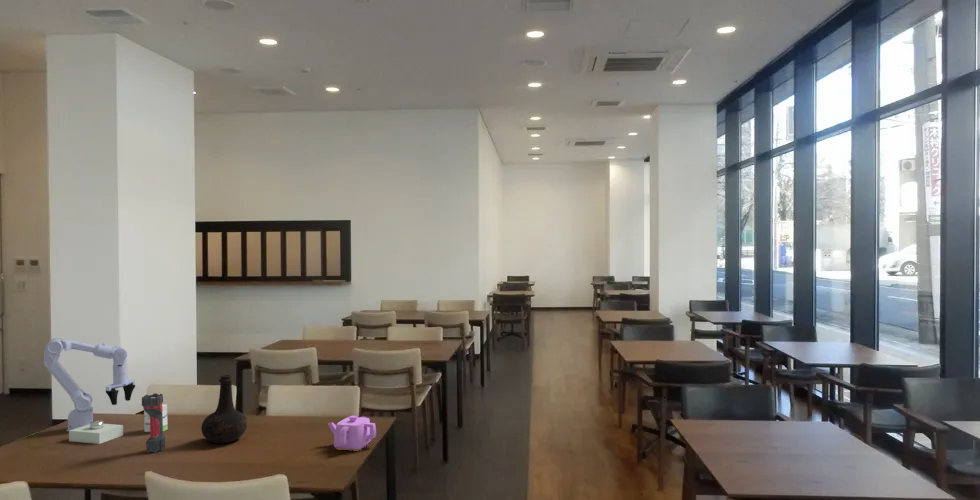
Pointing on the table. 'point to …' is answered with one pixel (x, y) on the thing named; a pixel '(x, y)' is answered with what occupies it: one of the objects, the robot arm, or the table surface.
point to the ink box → (147, 419)
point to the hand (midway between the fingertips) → (121, 402)
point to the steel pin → (96, 425)
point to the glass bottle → (224, 417)
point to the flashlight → (154, 422)
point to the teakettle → (353, 432)
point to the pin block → (96, 433)
